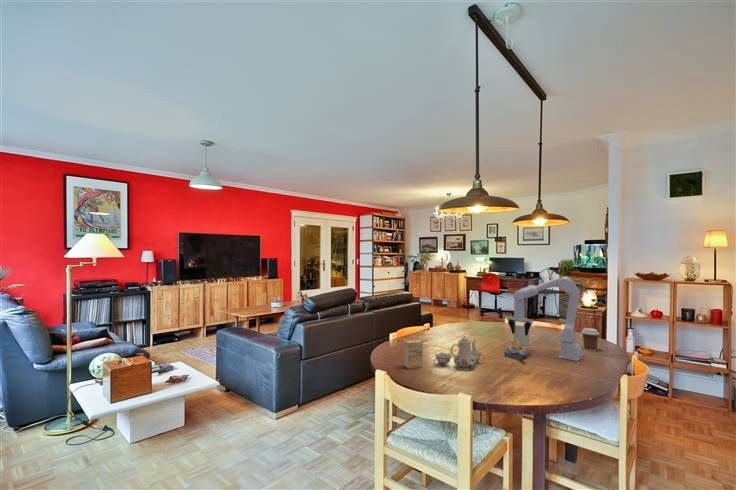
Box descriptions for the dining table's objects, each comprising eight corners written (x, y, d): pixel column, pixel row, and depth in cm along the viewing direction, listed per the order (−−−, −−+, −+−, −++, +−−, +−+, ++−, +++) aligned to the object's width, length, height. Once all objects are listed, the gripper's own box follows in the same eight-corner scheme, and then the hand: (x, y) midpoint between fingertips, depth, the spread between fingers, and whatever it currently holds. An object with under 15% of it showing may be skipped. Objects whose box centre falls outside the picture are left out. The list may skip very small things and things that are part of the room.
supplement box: (407, 369, 180) (407, 342, 181) (404, 366, 185) (404, 340, 185) (422, 367, 183) (422, 341, 183) (419, 364, 187) (418, 339, 187)
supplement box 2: (525, 342, 228) (525, 322, 228) (529, 345, 221) (529, 325, 221) (513, 342, 229) (513, 322, 229) (517, 345, 222) (516, 325, 222)
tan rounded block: (521, 355, 201) (521, 339, 201) (518, 358, 197) (518, 341, 197) (515, 354, 203) (515, 338, 203) (512, 356, 199) (512, 340, 199)
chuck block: (529, 356, 200) (529, 352, 200) (522, 360, 193) (522, 355, 193) (512, 352, 207) (512, 348, 207) (504, 356, 200) (504, 352, 200)
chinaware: (474, 361, 197) (472, 330, 199) (495, 367, 181) (492, 334, 183) (430, 367, 187) (428, 335, 189) (448, 374, 172) (445, 339, 173)
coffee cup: (596, 348, 215) (596, 328, 215) (602, 352, 206) (601, 331, 206) (579, 347, 217) (579, 327, 217) (584, 351, 209) (583, 330, 209)
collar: (532, 359, 186) (532, 355, 186) (517, 359, 187) (517, 354, 187) (521, 350, 203) (521, 346, 203) (508, 349, 204) (508, 345, 204)
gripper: (534, 311, 207) (535, 335, 207) (510, 308, 218) (510, 331, 218) (530, 313, 203) (530, 337, 202) (505, 310, 213) (505, 333, 213)
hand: (519, 334), depth 210 cm, fingers open, 7 cm apart
